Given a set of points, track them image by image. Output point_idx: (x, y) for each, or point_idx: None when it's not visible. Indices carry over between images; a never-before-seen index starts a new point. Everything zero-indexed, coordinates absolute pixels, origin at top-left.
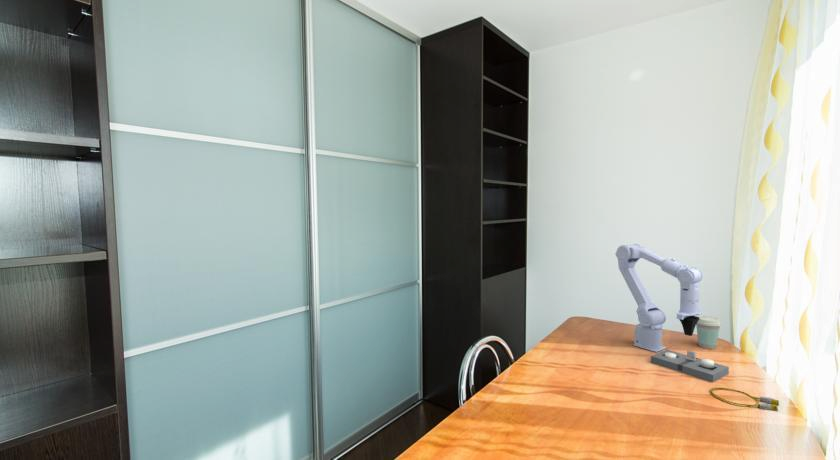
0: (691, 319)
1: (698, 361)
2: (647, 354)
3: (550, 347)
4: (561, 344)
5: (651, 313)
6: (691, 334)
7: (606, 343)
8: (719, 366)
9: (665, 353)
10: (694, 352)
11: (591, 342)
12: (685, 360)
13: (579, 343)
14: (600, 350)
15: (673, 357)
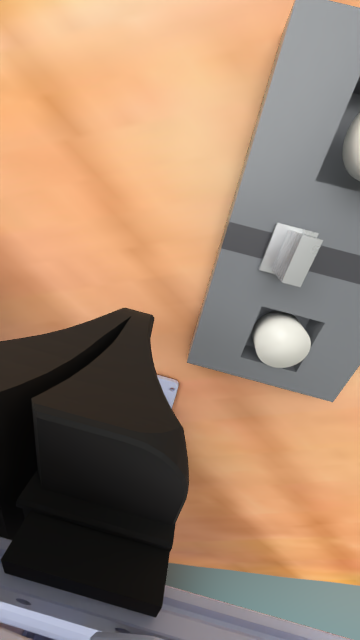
0: (167, 492)
1: (291, 212)
2: (224, 399)
3: (337, 571)
4: (292, 558)
5: (97, 630)
6: (143, 315)
7: (198, 491)
8: (327, 65)
9: (288, 364)
10: (310, 242)
11: (219, 516)
12: (314, 274)
13: (252, 533)
14: (282, 497)
15: (302, 327)
